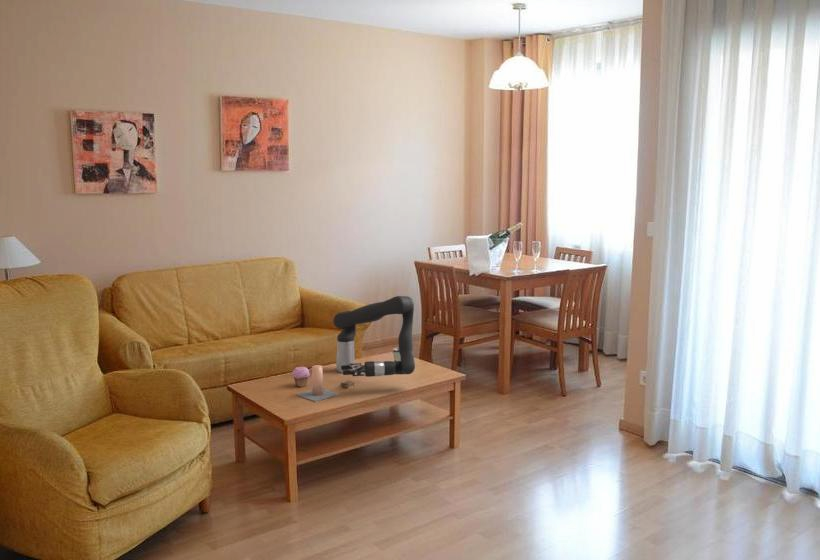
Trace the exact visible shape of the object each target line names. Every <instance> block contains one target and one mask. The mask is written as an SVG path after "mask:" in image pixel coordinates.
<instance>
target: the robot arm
mask: <svg viewBox="0 0 820 560" xmlns="http://www.w3.org/2000/svg"><path fill="white" fill-rule="evenodd" d="M414 304H415V303H414V301H413V298H412V297H410V296H408V295H407V296H406V295H397V296H396V295H395V296H394V297H391V298H389V299H386V300H384V301H378V302H374V303H371V304H370V303H368V304H366V305H364V306H361V307H358V308H356V309H353V310H345V311H341V312H337V313H336V314H335V315H334V316H333V321H332V322H333V325H334V326H335V328H337V329H339V330H341V331H340V332H339V333H338V334H337V337H336V340H337V341H336V342H337V343H336V344H337V346H336V347H337V348H336V349H337V353H336V355H335V356H336V357H335V358H336V359H335V360H336V362H335V363H336V371H337V372H338V373H341V374H342V375H343V376H352V377H364V376H365V377H366V378H369V377H382V376H383V377H384V376H393V375H411V374H412V373H414V371H415V369H416V363H415V356H414V353H413V351H414V349H413V348H414V347H413V322H414V311H415V310H414V309H415V308H414V307H415V306H414ZM389 315H401V316H402V325H401V327H400V328H401V329H400V332H399V334H398V341H397V342H398V347H399V354H400V356H401V361H395V362H394V361H393V360H392V361H391V360H387V361H386V360H385V361H381V360H375V361H374V360H373V361H372V360H370V361H365V362H364V365H363V364H362V363H360V362H357V363H355V336H356V333H357V332H356V331H357V325H360V324H369V323H372V322H377V321H380V320H381V319H383V318H384V317H385V316H389Z"/></svg>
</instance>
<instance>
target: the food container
mask: <svg viewBox="0 0 820 560" xmlns="http://www.w3.org/2000/svg"><path fill="white" fill-rule="evenodd" d="M391 354H393V360H394V361H393V362H395V361H401V356H400V354H399V346H398V347H394V348H393V349H392V351H391ZM413 354H415V351H414V350H413Z"/></svg>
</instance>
